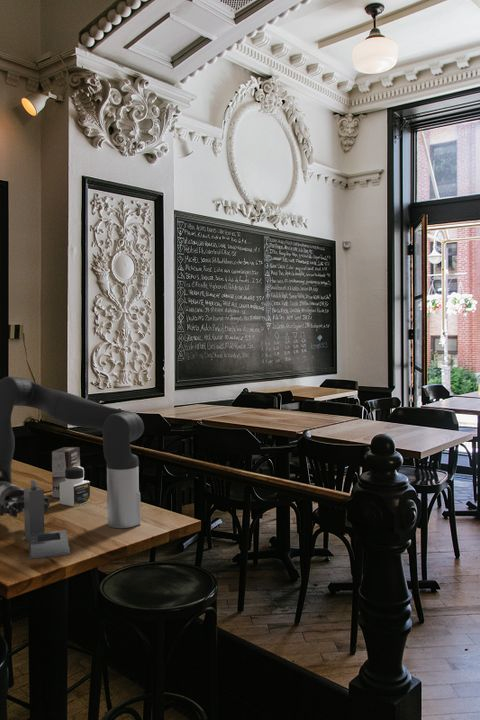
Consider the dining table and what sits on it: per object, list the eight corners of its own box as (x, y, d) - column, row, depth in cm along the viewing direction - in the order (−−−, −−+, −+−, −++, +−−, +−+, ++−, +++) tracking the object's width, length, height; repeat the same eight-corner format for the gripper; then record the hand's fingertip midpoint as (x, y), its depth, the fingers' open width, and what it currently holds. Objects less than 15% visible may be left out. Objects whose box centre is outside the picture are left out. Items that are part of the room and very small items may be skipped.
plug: (39, 535, 167) (38, 477, 166) (44, 539, 164) (43, 480, 163) (24, 539, 164) (23, 480, 164) (30, 542, 161) (29, 483, 161)
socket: (67, 541, 162) (67, 529, 162) (70, 554, 153) (70, 541, 153) (28, 545, 159) (28, 533, 159) (28, 559, 149) (28, 545, 149)
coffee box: (68, 498, 205) (68, 451, 204) (51, 497, 206) (51, 451, 206) (81, 491, 214) (80, 446, 213) (64, 490, 215) (63, 446, 215)
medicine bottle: (74, 507, 195) (73, 470, 194) (59, 503, 198) (58, 468, 198) (90, 501, 201) (90, 466, 200) (75, 498, 204) (75, 464, 204)
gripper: (-14, 489, 173) (4, 501, 161) (35, 481, 182) (55, 492, 170) (-13, 515, 174) (5, 529, 161) (35, 506, 183) (56, 518, 170)
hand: (31, 510), depth 166 cm, fingers open, 8 cm apart
